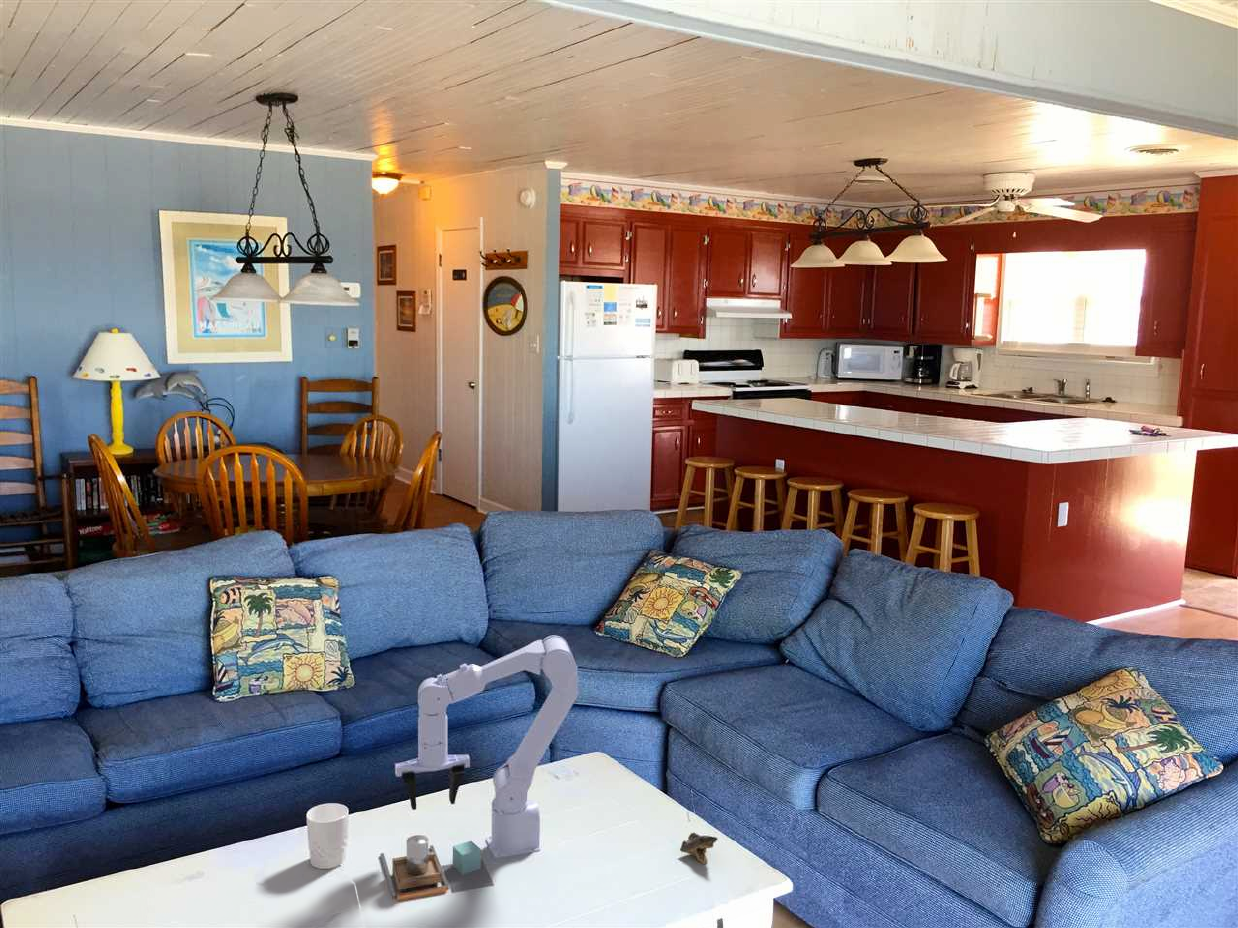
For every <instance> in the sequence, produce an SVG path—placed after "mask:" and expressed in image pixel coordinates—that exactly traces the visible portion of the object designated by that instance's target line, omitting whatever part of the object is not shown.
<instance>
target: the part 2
mask: <svg viewBox="0 0 1238 928" xmlns="http://www.w3.org/2000/svg"><path fill="white" fill-rule="evenodd" d="M481 859H482V849H481V847H479V846H478V845H477V844H476V843H474V841H472V840H469V841H465V842H462V843H458V844H455V845H453V846H452V864H453V866H454V867H455V868H456V869H457V870H458V871H459V872H460V873H461V874H462V875H463V874H466V873H469V872H472V871H475V870H478V869H481Z"/></svg>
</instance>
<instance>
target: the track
mask: <svg viewBox="0 0 1238 928" xmlns="http://www.w3.org/2000/svg"><path fill="white" fill-rule="evenodd" d="M429 850H430V852H435V857H436V859H437V862H438V865H439V867H440V870H441V872H442V884H443V885H441V886H438V887H431V888H424V889H419V890H414V891H408V892H405V893H402V892H401V893H397V894H396V891H395V888H394V885H393V880H392V876H391V874H390V871H389V868H388V864H387V860H386V858H385V854H384V852H381V853H380V855H379V856H380V859H381V862H382V863H381V864H382V866H383V870H384V873H385V877H386V881H387V885H388V887H389V891H390V894H391V898H392V900H395V899H396V901H397V902H401V901H407V900H414V899H418V898H419V899H420V898H425V897H430V896H435V895H442V894H446V893H447V890H449V889H450V886H449V883H448V881H447V878H446V876H445V873H444V871H443V868H442V865H441V862H440V860H439V857H438V854H437V852H436V850H435V847H434V845H429Z"/></svg>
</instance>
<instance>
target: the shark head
mask: <svg viewBox="0 0 1238 928" xmlns="http://www.w3.org/2000/svg"><path fill="white" fill-rule="evenodd" d="M687 838H688V839H686V840H683V841H682V843H681V845H680V848H679V851H680V852H682V853H687V855H688V854H689V855H692V856H693V857H695V859H697V860H698V862H700V863H701V864H703V865H707V863H708V861H709V859H708V858H707V855H706V853H705V852H706V851H707V850H708V849H712V848H714V844H715V842H717V841H718V837H716V836H711V835H700V834H697V833H696V832H691V833H690V834H689V836H688V837H687Z"/></svg>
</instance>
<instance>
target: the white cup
mask: <svg viewBox="0 0 1238 928" xmlns="http://www.w3.org/2000/svg"><path fill="white" fill-rule="evenodd" d="M305 817H306V827H307V840H308V841H307V842H308V850H309V860H310V861H309V862H310V865H311V866H312V867H314V868H316V869H319V870H329V869H330V870H331V869H334V868H337V867H339V866H341V865H342V864H343V863H344V862H345V861H346V860H347V859H346V858H347V857H346V856H347V846H348V836H349V835H348V834H349V833H348V831H349V808H348V807H347V806H346V805H344V804H341V803H336V802H335V803H331V802H330V803H323V804H319V805H316V806H313V807H311V808H310V809H309V810H308V811H307V813H306V816H305Z"/></svg>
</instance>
